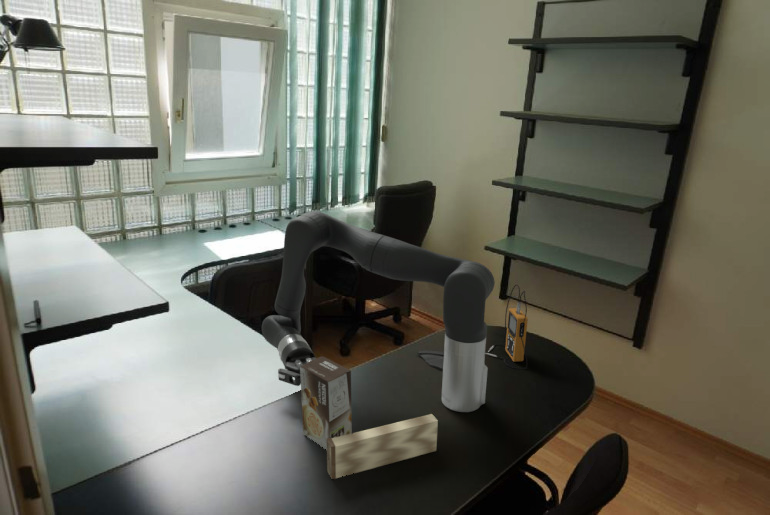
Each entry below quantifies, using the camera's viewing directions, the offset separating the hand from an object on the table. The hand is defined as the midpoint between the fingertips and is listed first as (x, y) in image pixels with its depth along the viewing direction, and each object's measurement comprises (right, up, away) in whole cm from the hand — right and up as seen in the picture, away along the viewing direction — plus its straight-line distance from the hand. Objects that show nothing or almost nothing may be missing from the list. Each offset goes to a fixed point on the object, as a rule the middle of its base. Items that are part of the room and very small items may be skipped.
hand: (314, 388), depth 114 cm
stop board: (+15, -11, -13) cm, 22 cm away
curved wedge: (+31, 0, +26) cm, 41 cm away
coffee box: (+3, -9, -6) cm, 11 cm away
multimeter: (+48, +1, +29) cm, 56 cm away
